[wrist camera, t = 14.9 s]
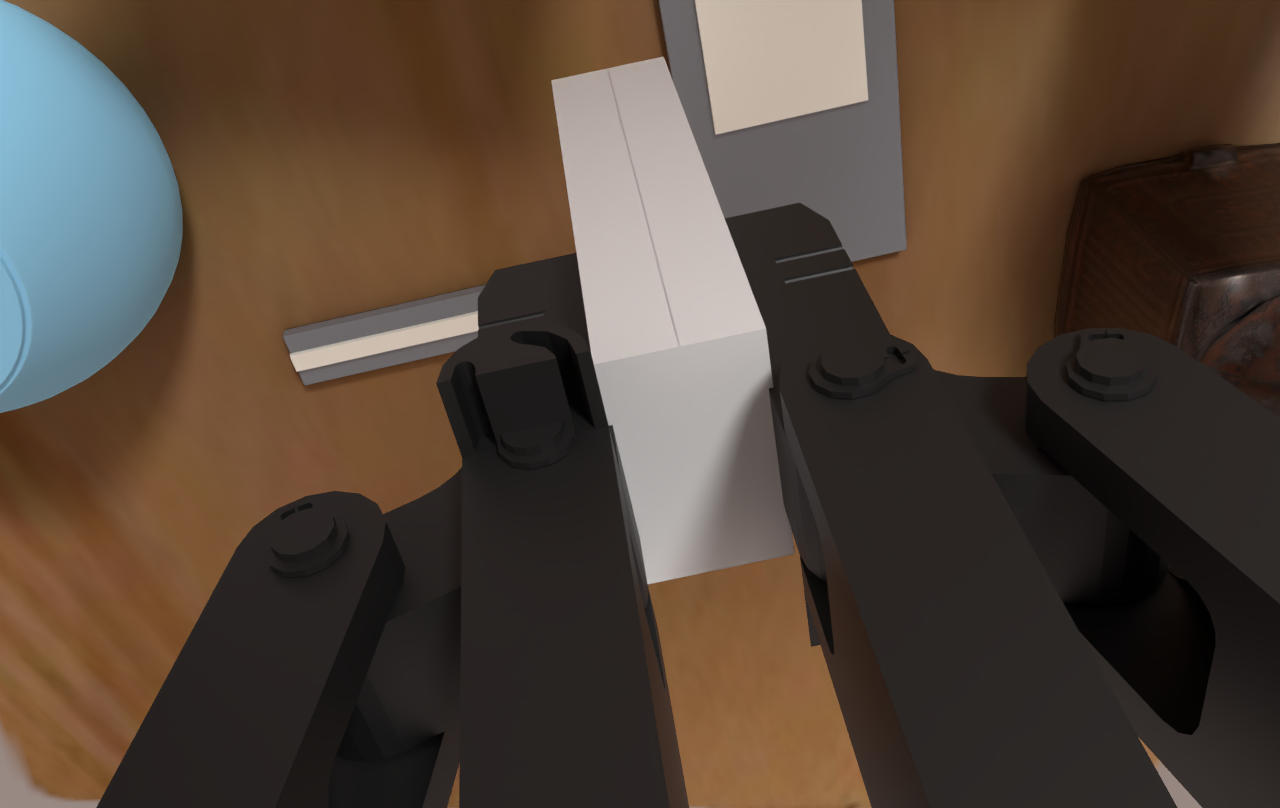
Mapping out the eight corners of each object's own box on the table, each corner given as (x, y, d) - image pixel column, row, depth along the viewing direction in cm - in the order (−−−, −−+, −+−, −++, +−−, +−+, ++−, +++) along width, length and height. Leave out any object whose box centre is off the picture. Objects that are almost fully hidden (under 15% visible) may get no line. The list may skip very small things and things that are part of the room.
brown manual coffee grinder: (1320, 121, 48) (1698, 350, 33) (1262, 343, 54) (1557, 617, 40) (958, 174, 47) (1181, 431, 32) (942, 393, 54) (1123, 690, 39)
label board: (43, -223, 35) (36, -220, 35) (867, -411, 35) (874, -411, 35) (305, 379, 49) (303, 388, 48) (903, 243, 49) (908, 251, 48)
